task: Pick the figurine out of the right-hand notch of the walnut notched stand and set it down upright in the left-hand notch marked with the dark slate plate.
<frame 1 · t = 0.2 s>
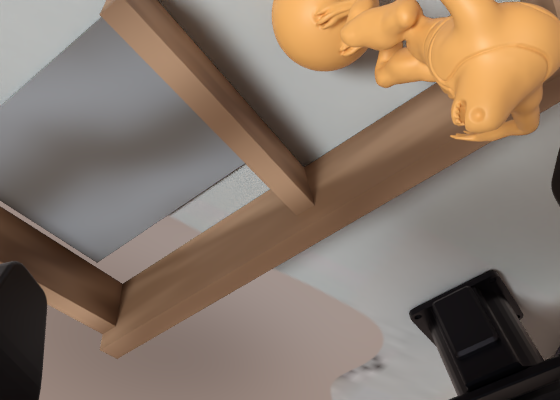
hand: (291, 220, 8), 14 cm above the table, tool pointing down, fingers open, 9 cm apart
notched stand: (224, 92, 22), on the table
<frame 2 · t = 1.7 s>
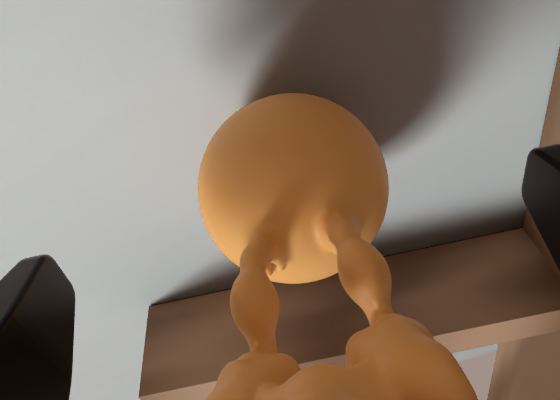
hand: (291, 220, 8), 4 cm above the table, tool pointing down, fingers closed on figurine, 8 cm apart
figurine: (268, 99, 11), on the table, touching gripper
notched stand: (338, 277, 15), on the table
when the fingers open (4 cm above the table, at t = 8.0 s): figurine stays where it is, resting on notched stand.
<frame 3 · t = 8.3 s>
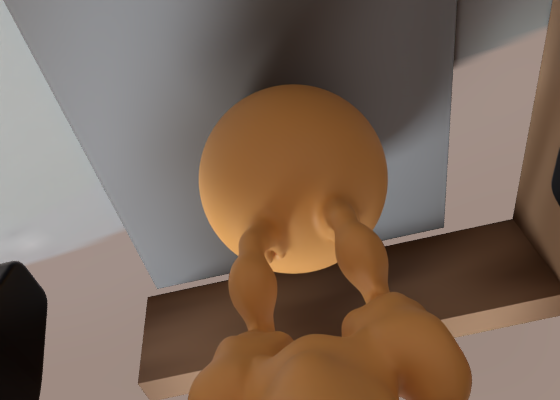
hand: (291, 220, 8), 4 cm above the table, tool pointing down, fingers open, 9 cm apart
figurine: (269, 92, 11), resting on notched stand
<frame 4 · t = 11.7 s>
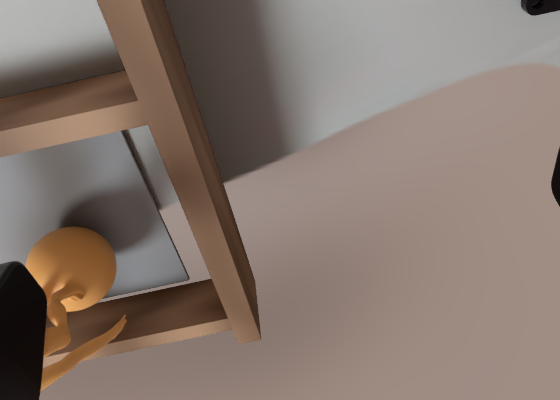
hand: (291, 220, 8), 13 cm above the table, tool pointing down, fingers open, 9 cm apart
figurine: (70, 222, 24), resting on notched stand
notched stand: (19, 106, 20), on the table
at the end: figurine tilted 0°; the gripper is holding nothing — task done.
